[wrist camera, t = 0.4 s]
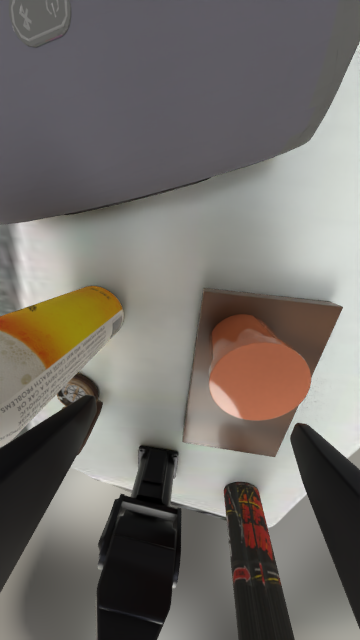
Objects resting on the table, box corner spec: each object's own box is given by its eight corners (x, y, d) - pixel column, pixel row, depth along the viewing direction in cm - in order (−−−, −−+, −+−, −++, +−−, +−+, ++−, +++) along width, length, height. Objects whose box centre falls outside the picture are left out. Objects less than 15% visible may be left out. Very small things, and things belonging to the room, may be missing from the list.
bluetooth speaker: (275, 16, 12) (519, -728, 3) (274, 181, 15) (389, 82, 6) (-4, 120, 16) (-297, -65, 6) (43, 236, 19) (-106, 225, 10)
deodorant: (262, 500, 32) (311, 693, 18) (229, 503, 33) (251, 685, 20) (253, 479, 30) (299, 677, 16) (219, 484, 32) (234, 669, 18)
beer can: (75, 280, 20) (-192, 349, 6) (128, 289, 20) (-29, 382, 6) (77, 328, 23) (-114, 456, 9) (125, 337, 22) (6, 482, 9)
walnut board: (270, 444, 27) (275, 457, 25) (183, 430, 28) (182, 442, 26) (330, 301, 18) (343, 306, 17) (203, 287, 19) (203, 291, 18)
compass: (64, 364, 25) (14, 407, 18) (116, 390, 26) (86, 440, 19) (51, 401, 28) (4, 449, 21) (98, 422, 29) (67, 476, 22)
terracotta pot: (264, 374, 20) (292, 426, 14) (201, 365, 21) (202, 413, 15) (284, 315, 18) (328, 349, 12) (211, 306, 18) (217, 336, 12)
